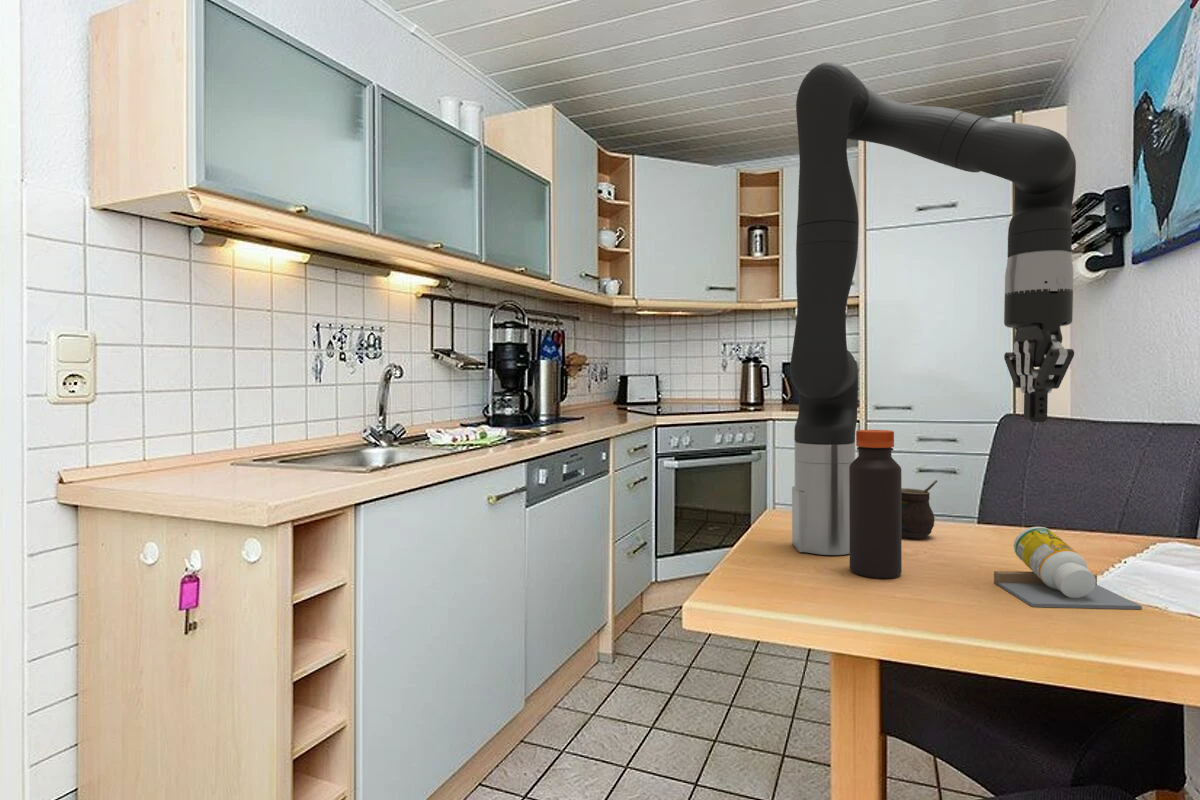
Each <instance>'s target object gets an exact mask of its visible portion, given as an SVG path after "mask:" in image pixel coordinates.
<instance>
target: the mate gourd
mask: <svg viewBox="0 0 1200 800" xmlns="http://www.w3.org/2000/svg"><path fill="white" fill-rule="evenodd" d="M937 483H938V480H937V479H936V480H934V481H933V482H932V483H931V484H930V485H929V486H927V488H925V489H920V488H919V489H917V488H905V487H904V488H902V487H901V509H902V538H904V539H911V540H912V539H913V540H914V539H915V540H919V539H921V540H922V539H923V540H924V539H925V538H927V537H928V536H929V535H931V533H932V532H933V531H932V530H933V528H934V527H935V515H934V512H933V510H932V508H931V505H930V499H931V497H930V495H931V494H930V492H929V491H930V490H931V489H932V488H933V487H934V486H935V485H936V484H937Z"/></svg>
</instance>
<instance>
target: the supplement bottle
mask: <svg viewBox="0 0 1200 800" xmlns="http://www.w3.org/2000/svg"><path fill="white" fill-rule="evenodd" d="M1013 551H1014V553H1015V555H1016V556H1017V557H1018V558H1019V560H1021V561H1022V562H1023V564H1024V565H1026V566H1027V567H1028V568H1029V569H1030V570H1031V572H1034V573H1035V574H1036V575H1037V576H1038V577H1039V578H1040V579H1041V580H1042V581H1043V582H1044V583H1045V584H1046V585H1047V586H1049V587H1051V588H1053V589H1056V590H1060V591H1061V592H1062V593H1063V594H1064V595H1066V596H1068V597H1070V598H1080V597H1083V596H1086V595H1087V594H1089V593H1090V592H1091V591H1092V590H1093V589H1094V587H1095V584H1096V579H1095V576H1094V575H1093V574H1094V573H1093V574H1092V572H1091V571H1090V569H1089V568H1088V564H1087V561H1086V560H1085V559H1084V558H1083V556H1082V555H1081V554H1079V553H1078V552H1077V551H1075V549H1073V548H1072V547H1071V546H1070V545H1068V544H1067V543H1066V542H1065V541H1064V540H1062V538H1061V537H1060V536H1058V535H1057V534H1056V533H1055V532H1053V531H1052V530H1051V529H1049V528H1047V527H1045V526H1044V527H1043V526H1031V527H1028V528H1025V529H1024V530H1022V531H1021V532H1019V534H1018V535H1017V536H1016V537H1015V540H1014V541H1013Z"/></svg>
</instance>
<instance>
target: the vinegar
mask: <svg viewBox="0 0 1200 800" xmlns="http://www.w3.org/2000/svg"><path fill="white" fill-rule="evenodd" d="M855 447H856V450H857V451H858V456H857V457H855V460H854V461H853V462H852V463H851V464H850V467H849V528H850V554H849V569H850V571H851V572H852V573H853V574H855V575H857V576H861V577H865V578H870V579H871V578H872V579H882V580H883V579H896V578H898V577H900V576H901V574H902V566H903V565H902V564H903V563H902V560H903V559H902V556H903V555H902V553H903V551H902V543H903V542H902V538H903V537H902V509H901V488H902V467H901V465H900V464H898V462H897V461H896V460H895V459H894V458H893V457H892V451H894V447H895V431H893V430H888V429H858V430H855Z"/></svg>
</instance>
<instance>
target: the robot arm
mask: <svg viewBox="0 0 1200 800" xmlns="http://www.w3.org/2000/svg"><path fill="white" fill-rule="evenodd" d="M795 101H796V103H795V109H796V123H797V124H796V126H797V136H798V138H797V139H798V149H799V150H798V154H799V171H798V173H799V175H798V192H797V194H798V196H797V221H796V238H795V239H796V241H795V242H796V243H795V246H796V247H795V259H796V261H795V262H796V263H795V264H796V265H795V268H796V269H795V270H796V271H795V272H796V273H795V275H796V276H795V277H796V279H795V280H796V281H795V283H796V285H795V287H796V305H797V306H796V321H795V328H794V334H793V335H794V336H793V344H792V349H791V350H792V351H791V357H790V363H789V364H790V365H789V374H790V380H791V382H792V384H793V385H794V388H795V389H796V390H797V391H798V393H799V394H798V412H797V413H798V414H797V419H796V422H795V425H794V436H793V437H794V486H792V488H791V523H792V524H791V537H792V538H791V541H792V542H791V544H792V545H793V546H794V548H795V549H796V550H797V551H798V553H807V554H808V553H809V554H815V555H823V556H842V555H843V556H844V555H850V528H849V467H850V464H851V463H852V462H853V461H854V460H855V459H856V428H857V423H858V402H859V398H858V395H859V394H858V393H859V391H858V390H859V387H858V386H859V384H858V382H859V378H858V377H859V375H858V373H859V372H858V371H859V370H858V365H857V360H856V359H855V357H854V356H853V354H852V352H850V350H848V344H847V343H848V342H847V328H846V327H847V326H846V325H847V321H846V320H847V317H846V316H847V315H846V314H847V305H848V300H849V296H850V290H851V287H852V284H853V279H854V274H855V270H856V266H857V260H858V253H859V252H858V251H859V249H858V248H859V229H860V227H859V226H860V225H859V223H860V222H859V220H860V219H859V210H858V209H859V208H858V201H857V196H856V190H855V186H854V183H853V180H852V176H851V172H850V167H849V161H848V150H847V149H848V140H853V141H861V142H867V143H872V144H873V143H874V144H879V145H883V146H887V147H890V148H895V149H898V150H901V151H904V152H907V153H909V154H912V155H915V156H917V157H920V158H923V159H927V160H930V161H932V162H935V163H939V164H942V165H944V166H947V167H950V168H955V169H957V170H961V171H965V172H969V173H980V172H982V173H985V174H989V175H993V176H995V177H998V178H1002V179H1004V180H1007V181H1009V182H1012V183H1013V185H1014V186H1013V187H1014V188H1013V189H1014V200H1013V201H1014V202H1013V204H1014V205H1013V212H1014V213H1013V216H1012V217H1011V218H1010V221H1009V223H1008V230H1007V232H1008V233H1007V261H1006V269H1005V273H1004V305H1003V307H1004V310H1003V311H1004V312H1003V313H1004V314H1003V323H1004V326H1005V327H1007V328H1009V329H1010V328H1011V329H1015V330H1016V331H1015V336H1014V338H1013V350H1012V352H1011V351H1010V352H1005V353H1004V356H1003V357H1004V362H1005V364H1006V367H1007V370H1008V372H1009V375H1010V377H1011V380H1012V383H1013V386H1014V387H1015V388H1016V389H1020V392H1021V394H1023V420H1024V421H1025V422H1029V423H1045V422H1047V420H1048V402H1049V401H1048V400H1049V399H1048V396H1049V394H1051V392H1052V391H1053V390H1055V389H1056V390H1057V389H1058V390H1059V388H1060V386H1061V384H1062V382H1063V379H1064V378H1065V376H1066V373H1067V371H1068V369H1069V367H1070V364H1071V362H1072V360H1073V358H1074V356H1075V351H1074V349H1073V348H1065V347H1064V346H1063V345H1062V343H1063V334H1062V329H1061V327H1065V326H1068V325H1071V324H1072V323H1073V308H1074V307H1073V306H1074V305H1073V303H1074V265H1073V258H1072V257H1073V256H1072V239H1073V238H1072V237H1073V236H1072V235H1073V224H1072V207H1073V201H1074V196H1075V186H1076V177H1077V176H1076V175H1077V174H1076V172H1077V164H1076V163H1077V162H1076V156H1075V153H1074V151H1073V149H1072V146H1071V144H1070V142H1069V141H1068V139H1067V138H1066V137H1065V136H1064V135H1062V134H1061V133H1059V132H1057V131H1056V130H1052V129H1050V128H1046V127H1043V126H1040V125H1039V126H1038V125H1033V124H1028V123H1027V124H1026V123H1025V124H1024V123H1018V122H1010V121H1009V122H1008V121H1007V122H1006V121H998V120H994V119H991V118H989V117H985V116H981V115H978V114H974V113H970V112H967V111H962V110H959V109H955V108H950V107H943V106H931V105H930V106H929V105H928V106H927V105H914V104H913V105H912V104H907V103H903V102H898V101H896V100H893V99H889V98H887V97H885V96H884V95H881V94H879V93H877V92H876V91H873V90H871V89H869V88H868V87H866V86H865V84H864V83H863V81H862V80H860V79H859V78H858V77H857V76H856V75H855V74H854V73H853V71H851V70H850V69H848V68H847V67H846V66H844V65H842V64H839V63H836V62H832V61H827V62H826V61H825V62H822V63H820V64H817V65H816V66H815V67H813V68H812V69H811V70H810V71H809V72H808V73H806V75H805V77H804V78H803V79H802V82H801V83H800V86H799V88H798V92H797V95H796V100H795Z"/></svg>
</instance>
